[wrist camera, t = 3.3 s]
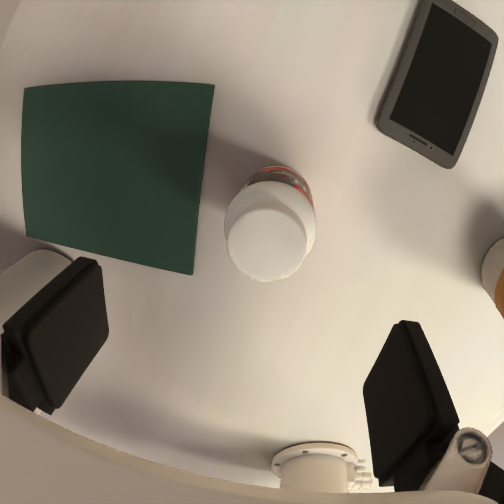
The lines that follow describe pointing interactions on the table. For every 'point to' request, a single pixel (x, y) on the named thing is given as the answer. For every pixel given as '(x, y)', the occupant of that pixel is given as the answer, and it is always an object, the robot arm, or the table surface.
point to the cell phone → (439, 82)
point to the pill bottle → (270, 224)
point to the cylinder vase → (27, 281)
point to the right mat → (116, 168)
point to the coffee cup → (494, 274)
